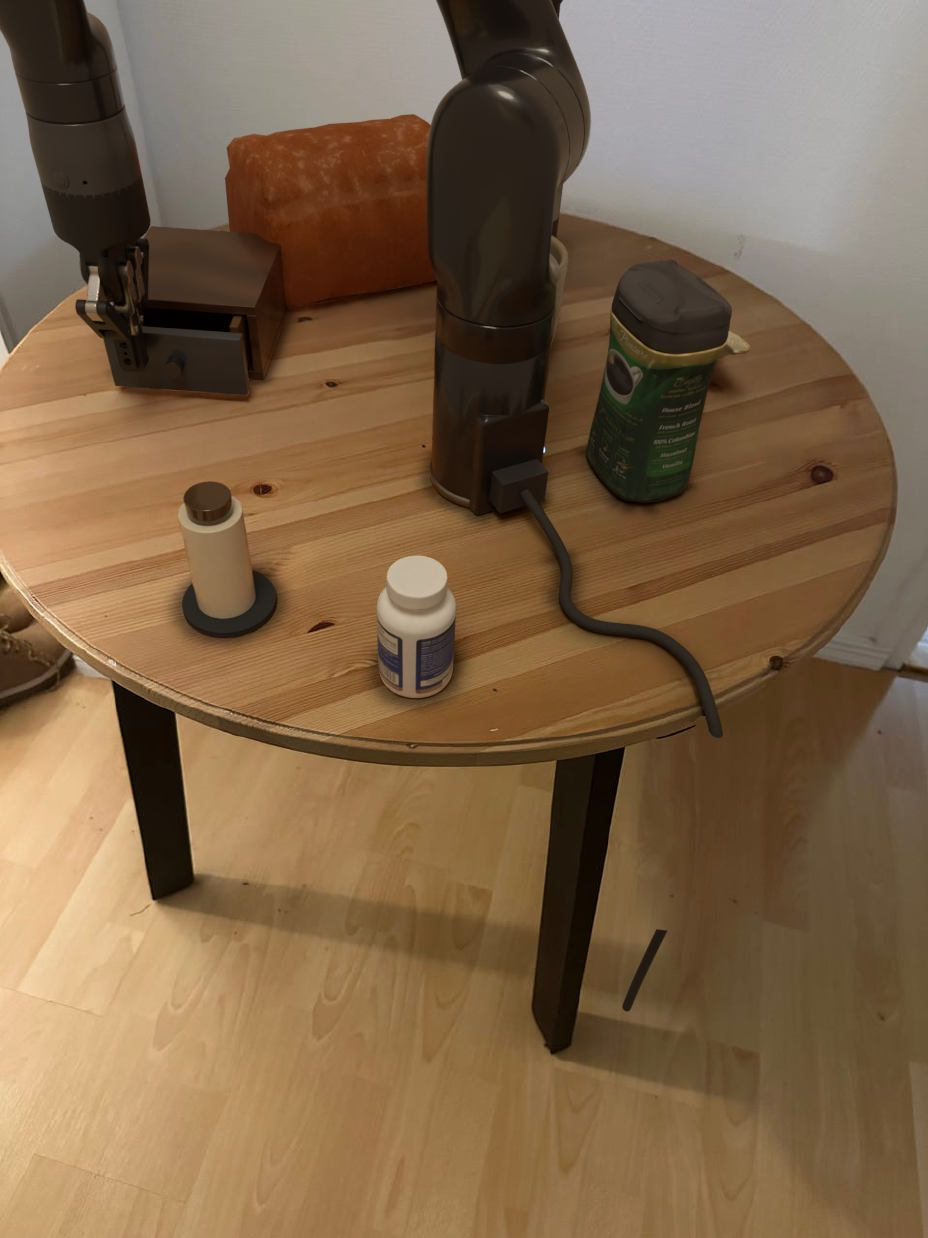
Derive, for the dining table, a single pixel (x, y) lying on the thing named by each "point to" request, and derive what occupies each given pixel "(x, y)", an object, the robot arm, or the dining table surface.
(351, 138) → the bread
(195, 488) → the cream bottle
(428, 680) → the pill bottle
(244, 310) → the cabinet
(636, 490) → the coffee jar
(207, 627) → the coaster
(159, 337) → the drawer
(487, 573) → the dining table surface
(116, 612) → the dining table surface
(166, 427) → the dining table surface
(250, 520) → the dining table surface
